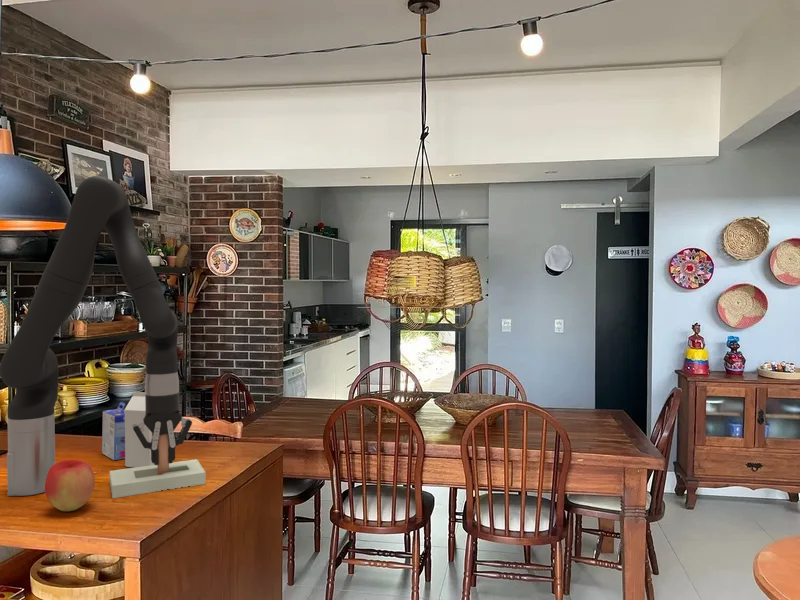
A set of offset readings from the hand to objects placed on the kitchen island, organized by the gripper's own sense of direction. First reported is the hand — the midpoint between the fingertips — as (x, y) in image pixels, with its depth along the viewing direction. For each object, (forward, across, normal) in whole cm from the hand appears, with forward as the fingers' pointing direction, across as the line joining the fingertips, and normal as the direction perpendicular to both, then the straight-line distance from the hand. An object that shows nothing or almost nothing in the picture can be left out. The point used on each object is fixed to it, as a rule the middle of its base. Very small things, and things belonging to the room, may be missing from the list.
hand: (163, 463), depth 143 cm
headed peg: (+4, 0, 0) cm, 4 cm away
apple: (+5, -19, -9) cm, 22 cm away
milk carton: (+5, -2, +18) cm, 19 cm away
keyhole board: (+5, -1, 0) cm, 5 cm away
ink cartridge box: (+5, -8, +30) cm, 32 cm away
